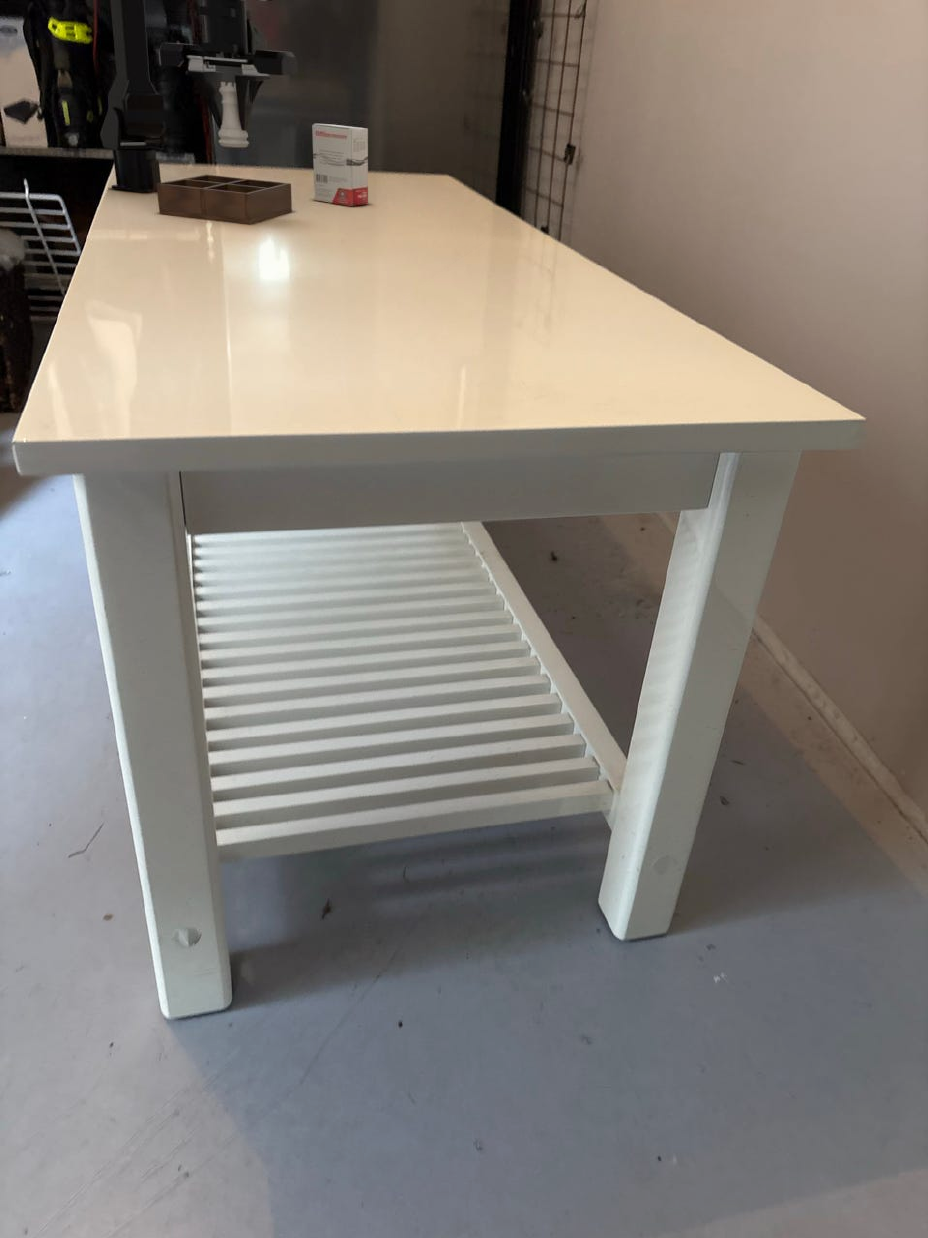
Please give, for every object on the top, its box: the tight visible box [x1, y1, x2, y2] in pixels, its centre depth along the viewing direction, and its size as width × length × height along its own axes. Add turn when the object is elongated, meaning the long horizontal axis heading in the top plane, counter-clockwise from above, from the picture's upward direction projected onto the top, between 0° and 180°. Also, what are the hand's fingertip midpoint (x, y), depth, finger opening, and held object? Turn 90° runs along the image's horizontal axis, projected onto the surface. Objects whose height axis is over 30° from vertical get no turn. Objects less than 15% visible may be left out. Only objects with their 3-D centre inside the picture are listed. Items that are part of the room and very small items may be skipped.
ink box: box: [311, 123, 369, 207], centre depth 153 cm, size 9×5×12 cm, turn 58°
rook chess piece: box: [217, 81, 250, 148], centre depth 130 cm, size 4×4×8 cm
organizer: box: [156, 174, 293, 225], centre depth 139 cm, size 15×15×4 cm
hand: (232, 128), depth 131 cm, fingers closed on rook chess piece, 3 cm apart
